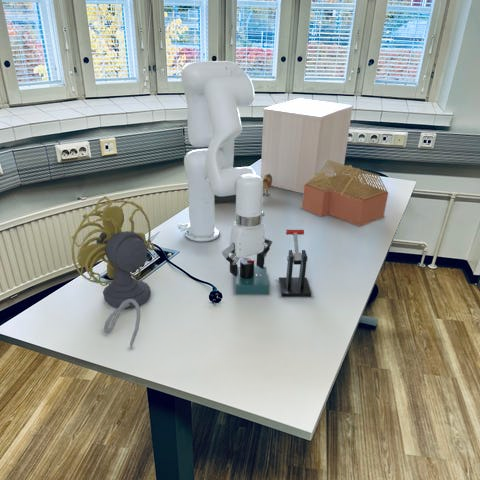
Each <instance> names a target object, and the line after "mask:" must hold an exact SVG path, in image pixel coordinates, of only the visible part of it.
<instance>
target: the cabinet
mask: <svg viewBox="0 0 480 480" xmlns="http://www.w3.org/2000/svg"><path fill="white" fill-rule="evenodd" d="M353 109H354V105H352V104H346V103H337V102H330V101H321V100H314V99H306V98H296V99H292V100H288V101H286V102H282V103H279V104H278V103H277V104H273V105H271V106H267V107H264V108H262V110H263V117H262V120H263V121H262V139H261V161H260V177H261V178H262V180H263V179H264V175H266V174H270V175H271V176H272V184H271V186H270V187H274V188H279V189H282V190H283V189H284V190H287V191H291V192H296V193H300V194H304V185H305V184H306V183H307V182H308V181H309V180H310V179H311V178H313V177H314V176H315V175H316V174H319V173H320V171H321V170H322V168H323V167H324V165H325V164H326V163H327V161H328V160H329V161H332V162H333V161H334V162H337V164H338V162H339V164H342V165H343V164H344V166H345V162H346V154H347V147H348V139H349V134H350V127H351V121H352V113H353ZM329 161H328V163H327V164H326V166H325V167H324V169H323V170H322V173H323V171H324V170H325V168H326V167H327V165H328V164H329ZM331 164H332V163H331ZM331 164H329V166H330V165H331ZM333 164H334V163H333ZM333 164H332V165H333ZM337 164H336V165H337ZM339 164H338V166H339ZM338 166H337V167H338ZM340 166H341V165H340ZM344 166H343V167H344ZM331 167H332V166H331ZM328 168H329V167H327V168H326V170H325V171H327V170H328ZM336 169H337V168H336ZM336 169H335V170H336ZM329 170H331V168H329ZM329 170H328V171H329ZM333 170H334V169H332V170H331V172H330V173H332V171H333ZM325 171H324V172H325ZM336 172H337V171H336ZM330 173H329V174H330ZM327 174H328V173H327ZM327 174H325V175H326V176H327ZM329 174H328V176H327V178H328V177H329V176H330V175H329ZM333 174H334V171H333V173H332V174H331V177H332V175H333ZM335 175H336V173H335V174H334V176H335ZM322 177H323V176H322ZM324 177H325V176H324ZM315 178H316V177H315ZM320 179H321V177H320ZM323 179H324V178H323ZM310 181H311V180H310ZM310 181H309V182H310ZM313 181H314V180H313ZM308 184H309V183H308Z"/></svg>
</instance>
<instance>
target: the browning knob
mask: <svg viewBox="0 0 480 480" xmlns="http://www.w3.org/2000/svg"><path fill="white" fill-rule="evenodd" d="M239 260H240V261H239V267H240V277H242V278H244V279H250V278H252V277H253V276H254V267H255V259H254V258H250V257H243V258H240V259H239Z"/></svg>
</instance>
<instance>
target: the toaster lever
mask: <svg viewBox="0 0 480 480" xmlns="http://www.w3.org/2000/svg"><path fill="white" fill-rule="evenodd" d="M304 234H305V229H286V230H285V235H287V236H288V235H289V236H290V235H293V236H292V237H293V247H294V248H293V249H294V252H293V256H294V259H293V266H294V265H296V266H297V265H299V266H300V265H301V261H302V256H301V254H302V252H300V251H299V250H300V249H299V239H298V236H299V235H300V236H303V235H304Z"/></svg>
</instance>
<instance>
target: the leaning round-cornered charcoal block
mask: <svg viewBox="0 0 480 480" xmlns="http://www.w3.org/2000/svg"><path fill="white" fill-rule="evenodd" d="M226 203H227V204H232V203H235V204H236V195H229V196H216V195H215V194H214V204H226Z"/></svg>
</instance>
